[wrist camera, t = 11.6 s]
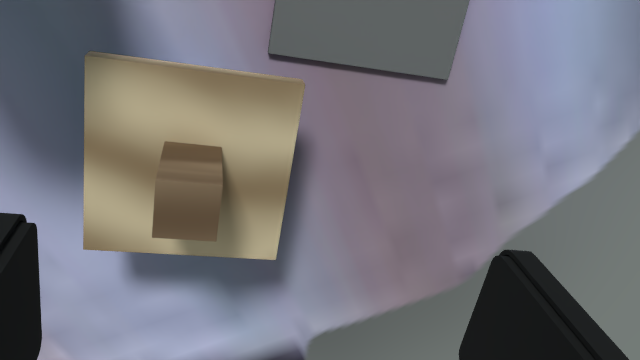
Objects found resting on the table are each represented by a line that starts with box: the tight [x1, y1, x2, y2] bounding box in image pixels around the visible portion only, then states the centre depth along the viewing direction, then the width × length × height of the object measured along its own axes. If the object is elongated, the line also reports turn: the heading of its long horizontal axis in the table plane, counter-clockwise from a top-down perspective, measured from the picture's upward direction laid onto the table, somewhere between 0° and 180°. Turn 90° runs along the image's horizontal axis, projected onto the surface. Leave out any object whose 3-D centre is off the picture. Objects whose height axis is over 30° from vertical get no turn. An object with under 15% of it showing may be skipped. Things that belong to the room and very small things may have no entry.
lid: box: [83, 51, 305, 260], centre depth 28 cm, size 11×11×6 cm
